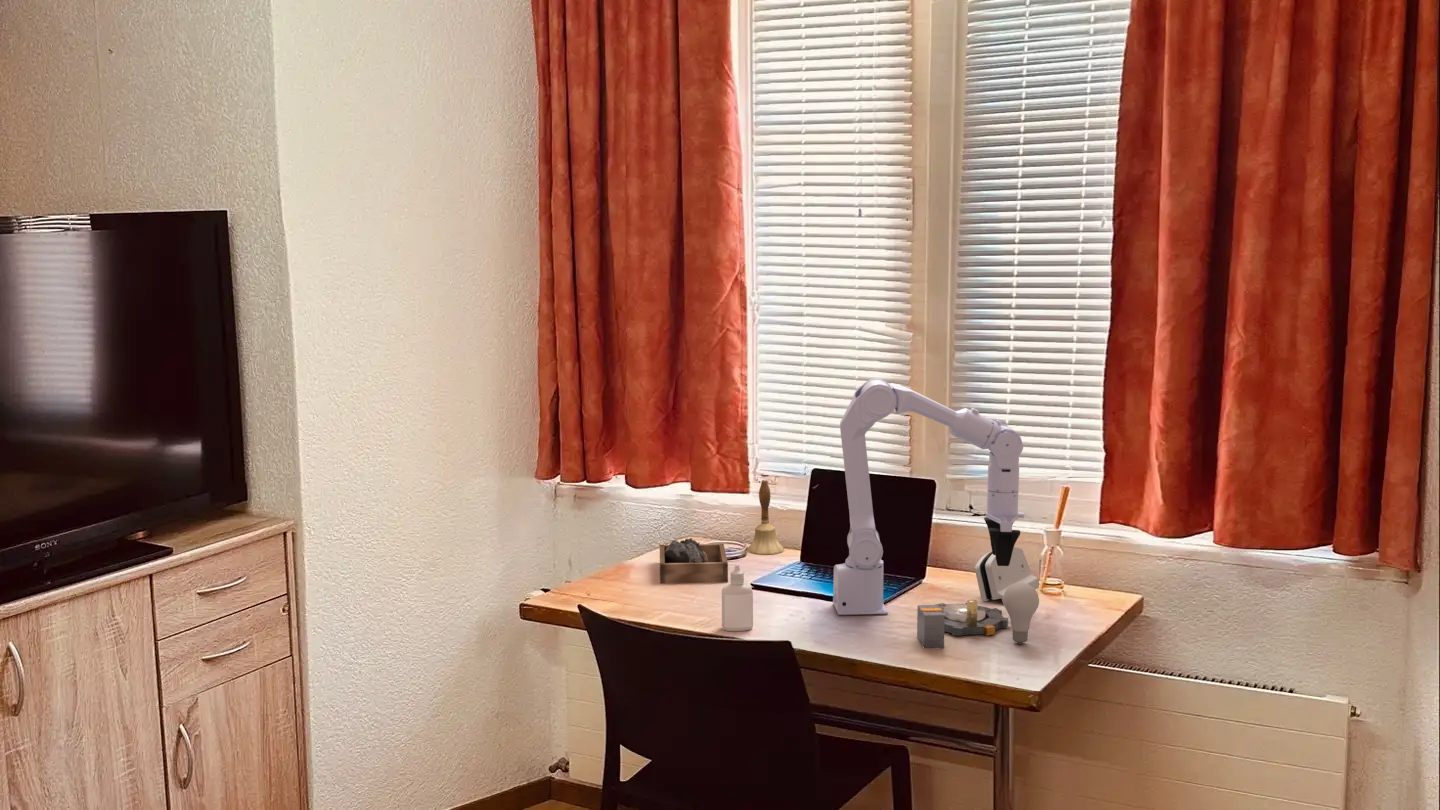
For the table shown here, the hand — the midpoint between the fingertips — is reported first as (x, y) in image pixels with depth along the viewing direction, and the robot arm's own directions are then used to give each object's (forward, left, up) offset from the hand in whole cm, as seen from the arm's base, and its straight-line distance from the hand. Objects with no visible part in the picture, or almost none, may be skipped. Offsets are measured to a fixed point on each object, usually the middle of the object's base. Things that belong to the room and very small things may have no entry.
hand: (1000, 560), depth 238 cm
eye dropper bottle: (-51, -7, -10) cm, 52 cm away
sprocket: (-9, -7, -10) cm, 15 cm away
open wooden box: (-58, +31, -10) cm, 66 cm away
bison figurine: (-57, +31, -10) cm, 66 cm away
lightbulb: (-2, -19, -10) cm, 22 cm away
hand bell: (-41, +48, -10) cm, 63 cm away
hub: (-9, -7, -10) cm, 15 cm away
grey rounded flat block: (+5, +12, -10) cm, 16 cm away
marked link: (-17, -17, -10) cm, 26 cm away
